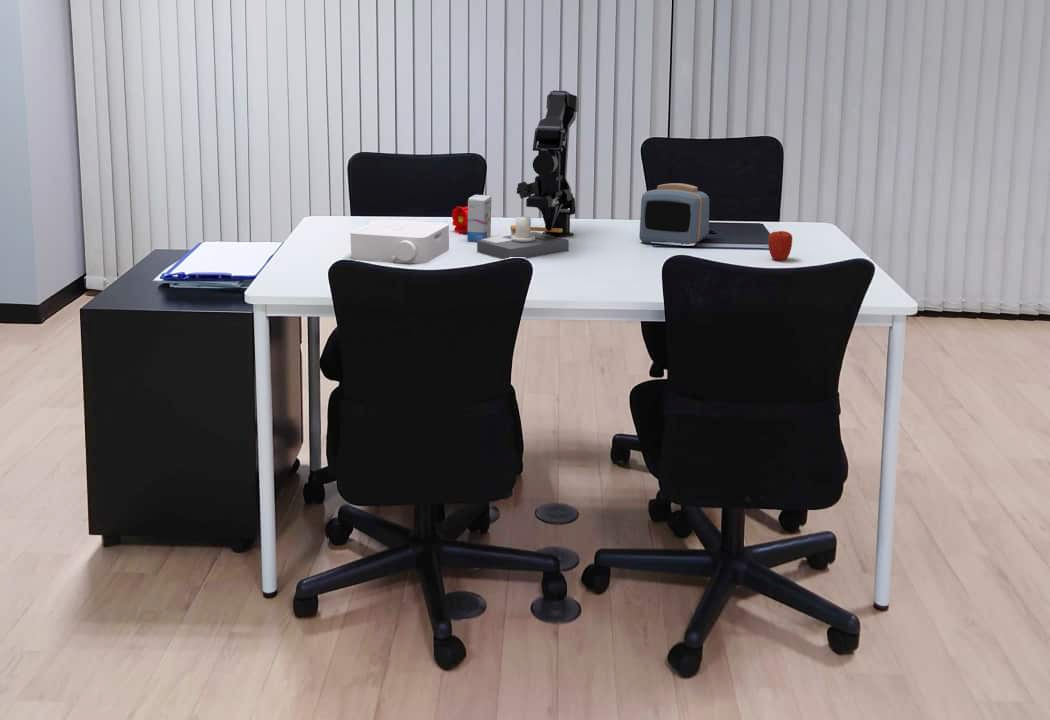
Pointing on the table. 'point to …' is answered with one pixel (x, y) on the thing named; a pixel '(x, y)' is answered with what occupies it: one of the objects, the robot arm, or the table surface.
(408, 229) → the projector
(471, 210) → the ink box
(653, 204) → the retro portable television
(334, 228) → the table surface
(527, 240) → the plug
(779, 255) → the red rounded lump
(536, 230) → the orange matchstick
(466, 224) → the flower
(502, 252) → the grey flat block
